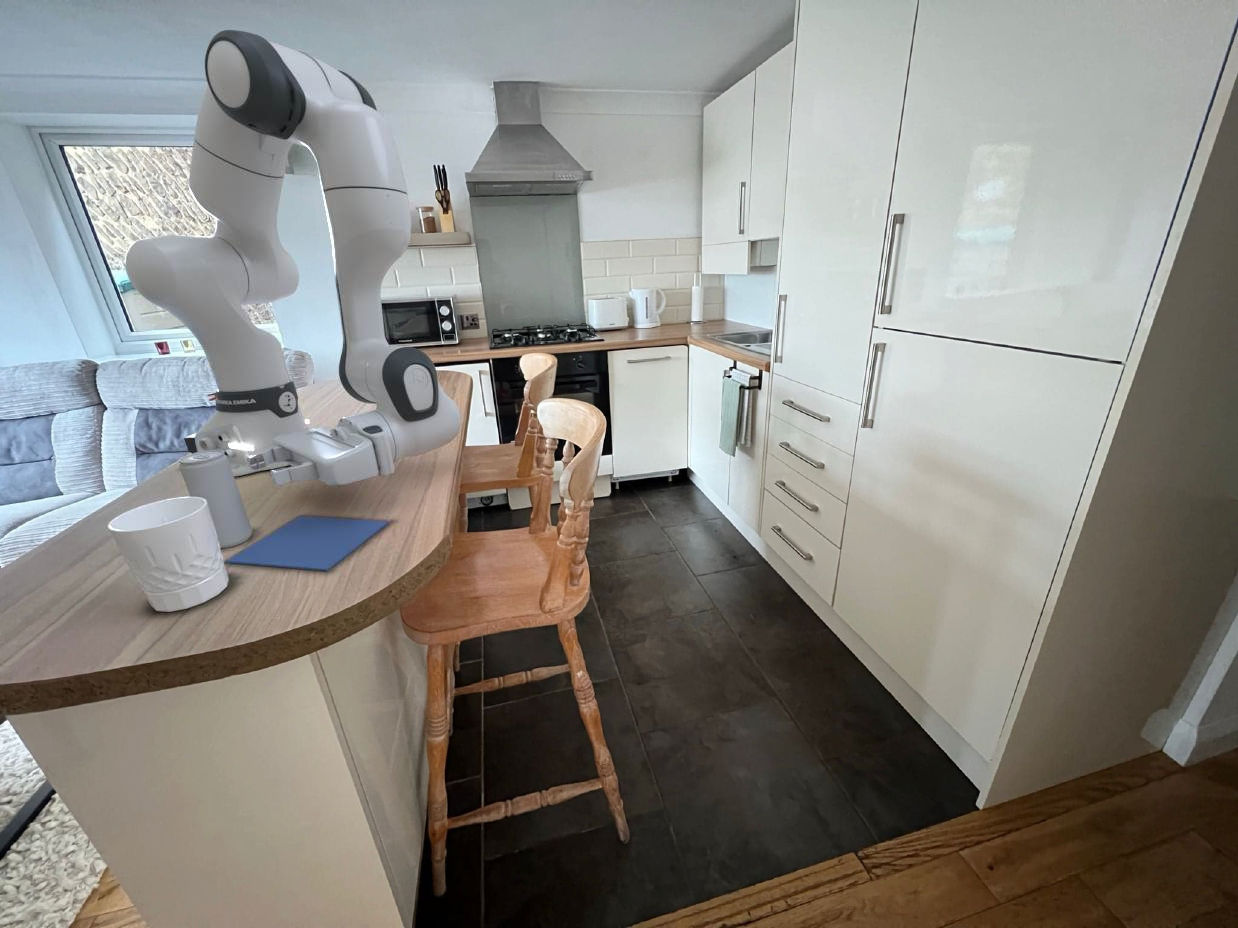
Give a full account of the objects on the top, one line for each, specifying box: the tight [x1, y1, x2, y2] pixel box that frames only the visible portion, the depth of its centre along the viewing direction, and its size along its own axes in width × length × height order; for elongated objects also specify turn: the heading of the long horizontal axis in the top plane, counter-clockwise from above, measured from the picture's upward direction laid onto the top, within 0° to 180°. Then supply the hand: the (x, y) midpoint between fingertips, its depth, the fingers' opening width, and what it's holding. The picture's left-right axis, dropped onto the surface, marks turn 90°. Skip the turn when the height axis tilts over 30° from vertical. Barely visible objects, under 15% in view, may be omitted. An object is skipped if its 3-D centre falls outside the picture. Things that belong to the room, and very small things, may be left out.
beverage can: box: [178, 450, 253, 549], centre depth 65 cm, size 5×5×12 cm
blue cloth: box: [225, 515, 389, 572], centre depth 66 cm, size 14×12×1 cm
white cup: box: [107, 496, 230, 613], centre depth 54 cm, size 8×8×10 cm
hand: (260, 470), depth 68 cm, fingers open, 8 cm apart
